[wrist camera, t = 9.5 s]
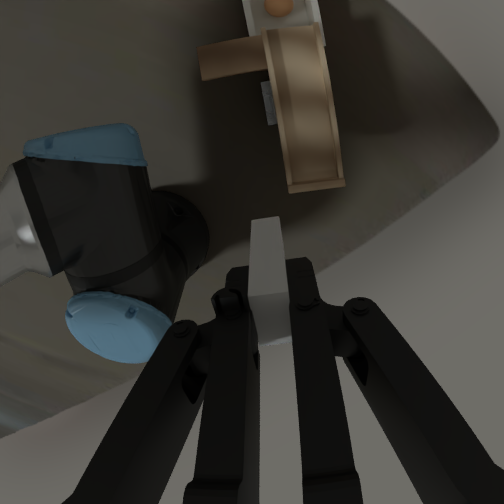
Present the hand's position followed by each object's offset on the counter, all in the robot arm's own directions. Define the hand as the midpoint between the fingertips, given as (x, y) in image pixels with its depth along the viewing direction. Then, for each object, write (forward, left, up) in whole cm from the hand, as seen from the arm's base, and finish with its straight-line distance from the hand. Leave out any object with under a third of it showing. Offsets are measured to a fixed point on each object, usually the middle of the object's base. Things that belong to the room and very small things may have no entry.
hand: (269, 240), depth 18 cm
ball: (+5, +18, -26) cm, 32 cm away
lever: (+1, +5, -22) cm, 22 cm away
